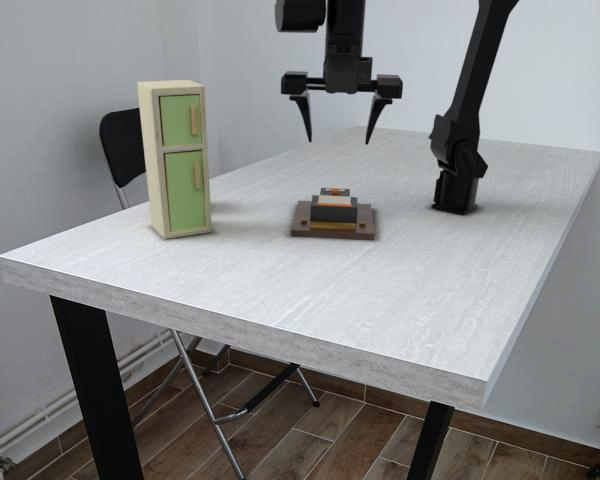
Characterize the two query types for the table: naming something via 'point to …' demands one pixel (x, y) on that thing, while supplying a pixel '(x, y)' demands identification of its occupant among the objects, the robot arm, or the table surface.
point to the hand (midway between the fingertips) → (338, 143)
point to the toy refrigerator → (176, 156)
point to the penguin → (334, 206)
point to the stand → (333, 224)
